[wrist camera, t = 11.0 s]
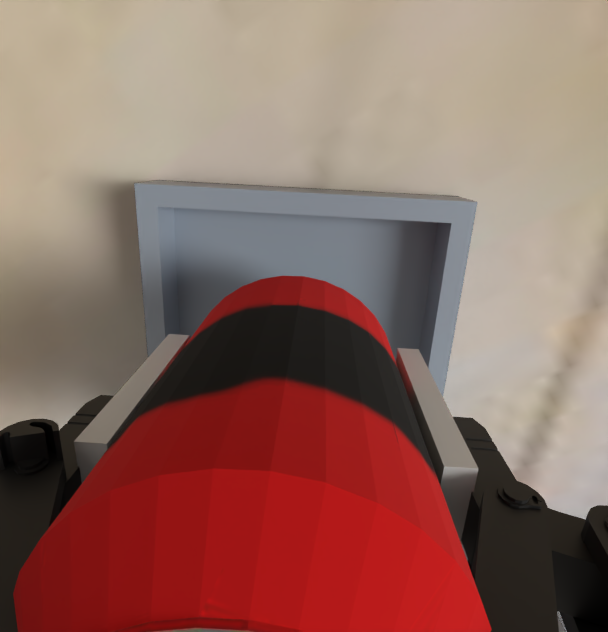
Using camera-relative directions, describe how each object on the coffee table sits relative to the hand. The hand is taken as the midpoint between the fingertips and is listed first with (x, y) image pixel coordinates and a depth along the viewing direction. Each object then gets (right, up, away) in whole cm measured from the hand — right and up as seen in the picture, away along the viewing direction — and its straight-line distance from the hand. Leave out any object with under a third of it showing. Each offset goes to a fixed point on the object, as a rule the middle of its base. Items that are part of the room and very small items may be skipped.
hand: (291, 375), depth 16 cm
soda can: (0, 0, +1) cm, 1 cm away
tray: (0, +2, +4) cm, 5 cm away
